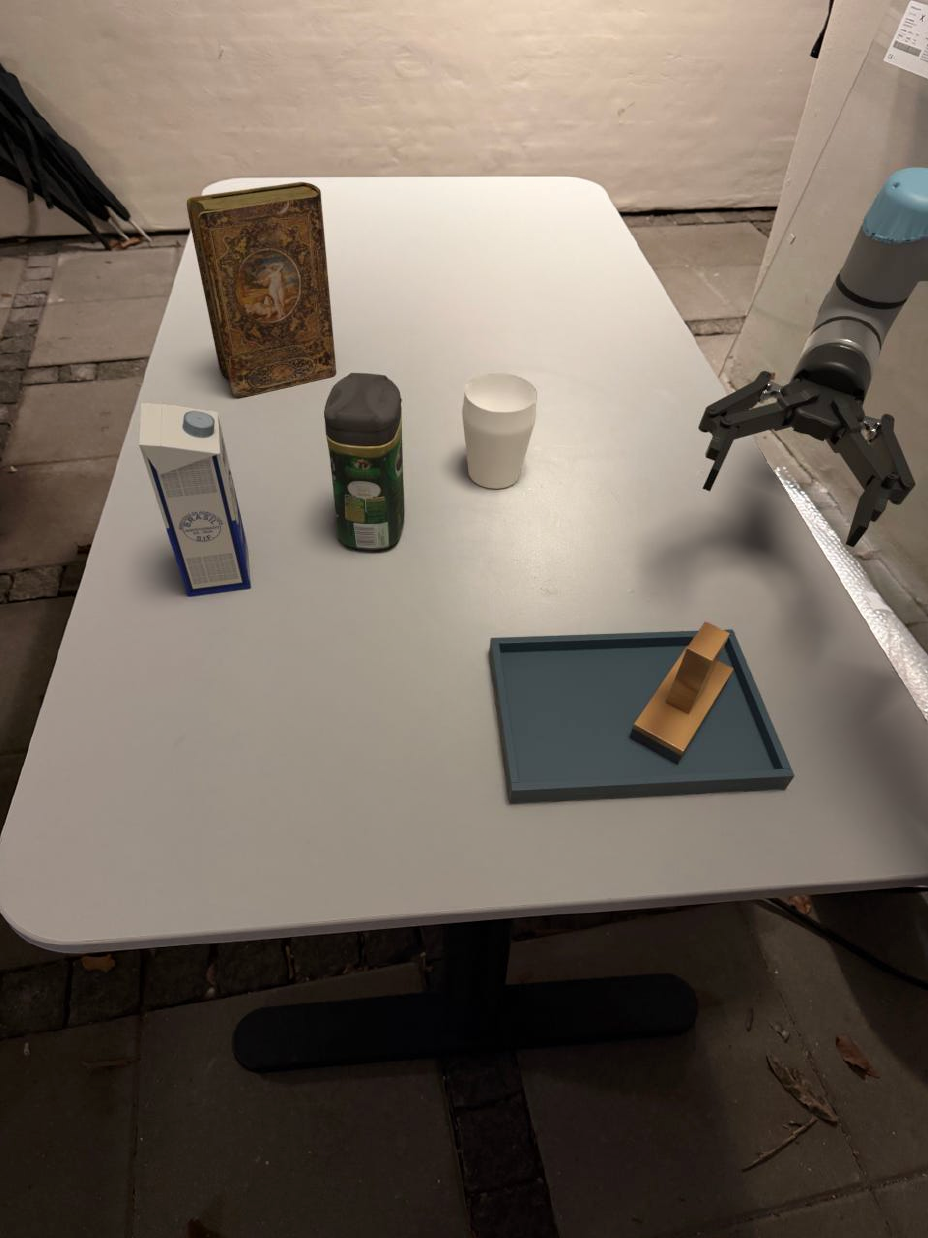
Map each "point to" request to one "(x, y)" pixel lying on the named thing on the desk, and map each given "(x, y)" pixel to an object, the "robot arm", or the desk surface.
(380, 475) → the coffee jar
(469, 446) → the cup
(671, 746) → the wooden block on base
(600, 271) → the desk surface
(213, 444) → the milk carton
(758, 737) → the tray
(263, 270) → the book
